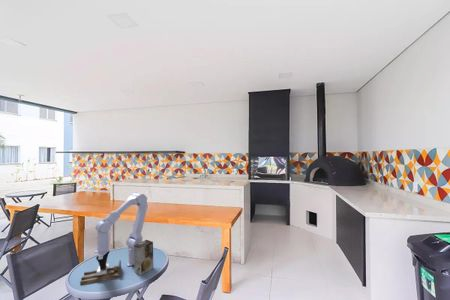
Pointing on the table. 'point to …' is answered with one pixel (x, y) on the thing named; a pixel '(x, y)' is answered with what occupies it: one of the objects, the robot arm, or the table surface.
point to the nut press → (92, 277)
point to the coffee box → (143, 257)
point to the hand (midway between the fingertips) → (103, 266)
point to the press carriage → (102, 270)
